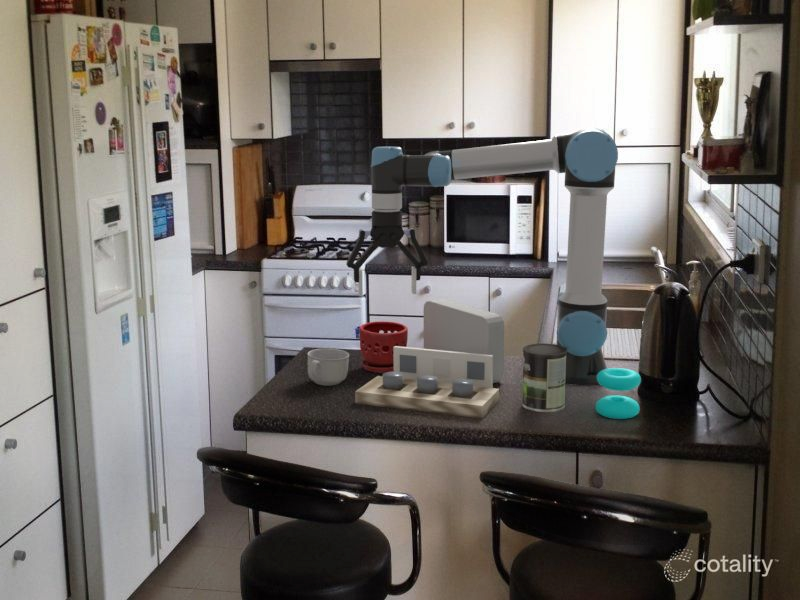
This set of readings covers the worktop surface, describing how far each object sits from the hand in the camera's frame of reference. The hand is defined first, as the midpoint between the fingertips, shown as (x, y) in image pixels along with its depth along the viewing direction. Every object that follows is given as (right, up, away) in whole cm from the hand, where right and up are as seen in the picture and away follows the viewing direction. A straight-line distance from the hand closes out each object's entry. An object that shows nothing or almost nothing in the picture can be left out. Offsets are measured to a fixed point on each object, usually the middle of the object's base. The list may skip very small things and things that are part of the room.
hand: (387, 294), depth 243 cm
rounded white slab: (+20, -21, +16) cm, 33 cm away
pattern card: (+14, -24, +1) cm, 28 cm away
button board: (+10, -26, -9) cm, 29 cm away
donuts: (+54, -28, -18) cm, 63 cm away
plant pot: (-1, -20, +20) cm, 29 cm away
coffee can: (+37, -27, -12) cm, 48 cm away
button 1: (+1, -23, -6) cm, 23 cm away
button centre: (+10, -23, -9) cm, 27 cm away
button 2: (+18, -24, -13) cm, 33 cm away
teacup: (-16, -23, +7) cm, 29 cm away
